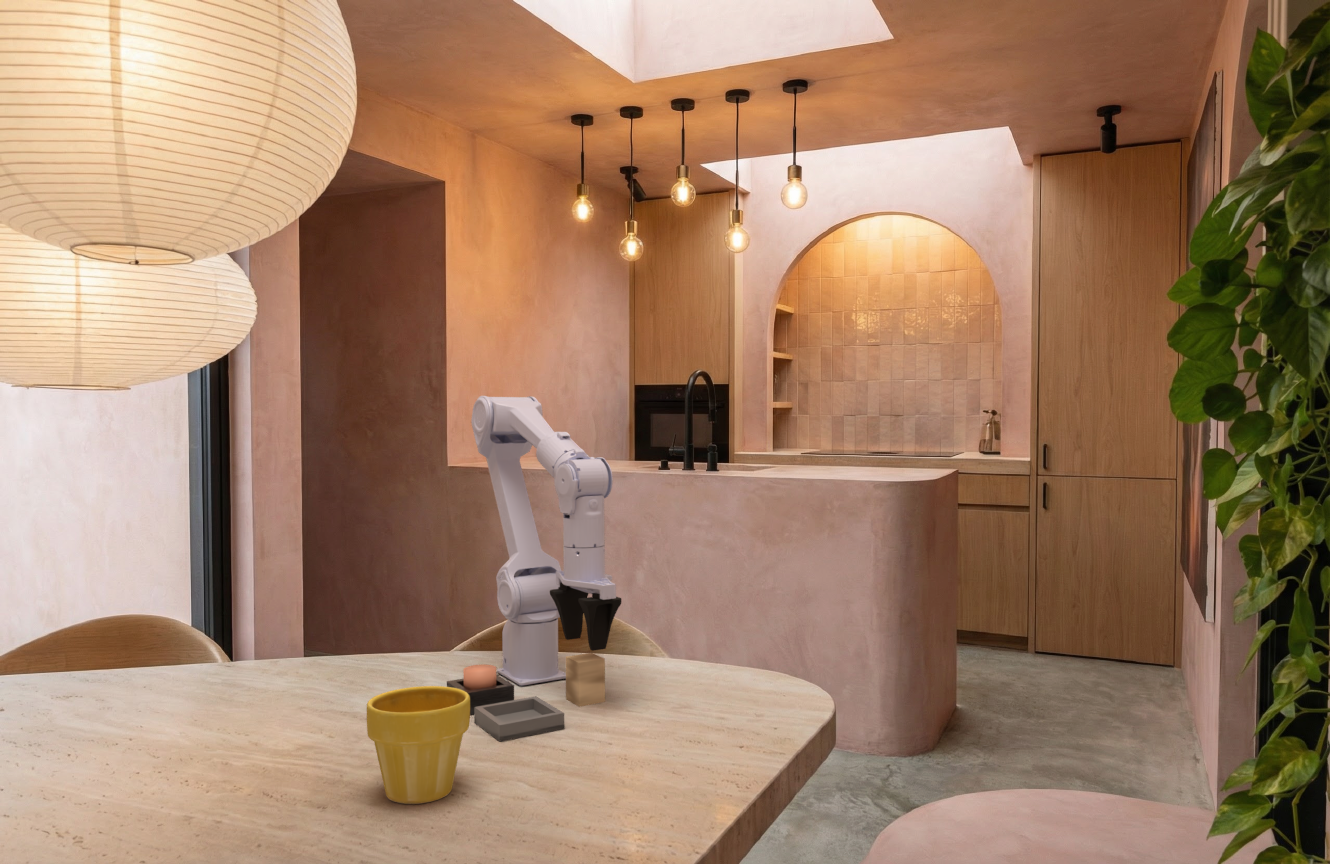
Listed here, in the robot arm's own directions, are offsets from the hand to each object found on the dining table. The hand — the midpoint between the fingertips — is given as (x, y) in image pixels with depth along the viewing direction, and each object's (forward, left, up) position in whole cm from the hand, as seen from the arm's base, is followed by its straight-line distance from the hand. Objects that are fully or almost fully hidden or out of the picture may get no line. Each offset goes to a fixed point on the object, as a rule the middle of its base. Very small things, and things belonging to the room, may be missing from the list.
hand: (585, 643), depth 127 cm
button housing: (-6, -13, -8) cm, 16 cm away
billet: (0, 0, -8) cm, 8 cm away
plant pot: (+19, -29, -8) cm, 36 cm away
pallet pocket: (+5, -12, -8) cm, 15 cm away
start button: (-6, -13, -6) cm, 15 cm away
